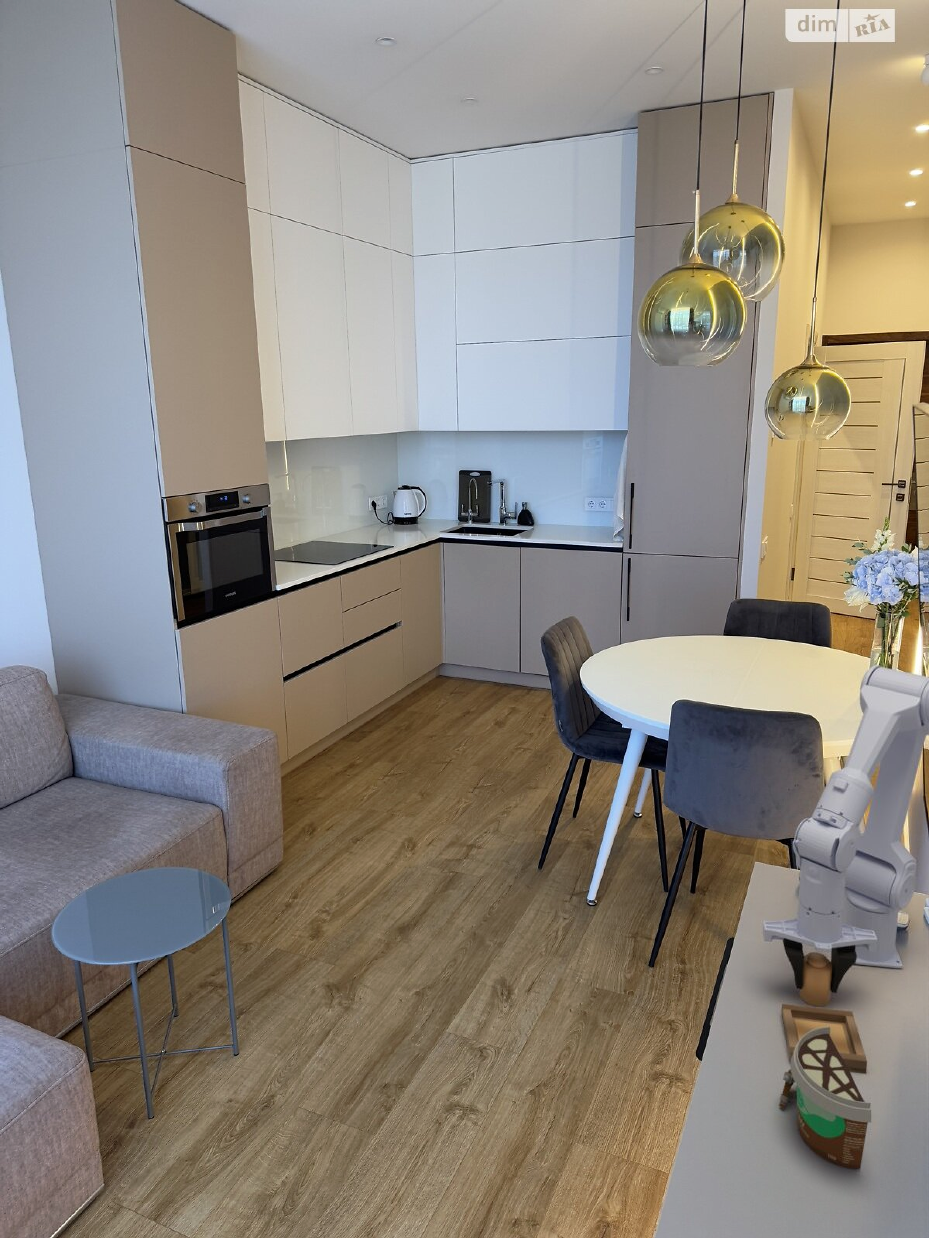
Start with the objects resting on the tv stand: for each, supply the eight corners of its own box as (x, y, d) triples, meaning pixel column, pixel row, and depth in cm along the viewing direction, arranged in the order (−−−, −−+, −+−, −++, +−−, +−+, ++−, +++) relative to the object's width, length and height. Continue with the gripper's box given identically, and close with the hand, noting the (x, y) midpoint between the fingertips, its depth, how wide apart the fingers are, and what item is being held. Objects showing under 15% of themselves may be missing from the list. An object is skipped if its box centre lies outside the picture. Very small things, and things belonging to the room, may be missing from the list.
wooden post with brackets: (771, 1104, 102) (780, 1067, 102) (799, 1091, 108) (807, 1057, 108) (785, 1112, 101) (794, 1075, 101) (812, 1100, 106) (821, 1064, 106)
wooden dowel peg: (797, 985, 123) (799, 947, 121) (827, 988, 122) (829, 950, 120) (801, 1004, 119) (804, 965, 117) (832, 1007, 118) (835, 968, 116)
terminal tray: (781, 1014, 117) (781, 1003, 117) (851, 1022, 115) (852, 1011, 115) (790, 1063, 109) (791, 1052, 108) (866, 1073, 107) (867, 1061, 106)
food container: (772, 1092, 105) (776, 1024, 102) (823, 1091, 105) (828, 1023, 102) (808, 1181, 93) (814, 1107, 90) (865, 1181, 93) (872, 1106, 90)
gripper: (768, 914, 114) (764, 999, 118) (885, 924, 111) (877, 1011, 115) (762, 885, 121) (759, 966, 125) (873, 893, 118) (865, 977, 121)
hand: (815, 986), depth 120 cm, fingers closed on wooden dowel peg, 4 cm apart
